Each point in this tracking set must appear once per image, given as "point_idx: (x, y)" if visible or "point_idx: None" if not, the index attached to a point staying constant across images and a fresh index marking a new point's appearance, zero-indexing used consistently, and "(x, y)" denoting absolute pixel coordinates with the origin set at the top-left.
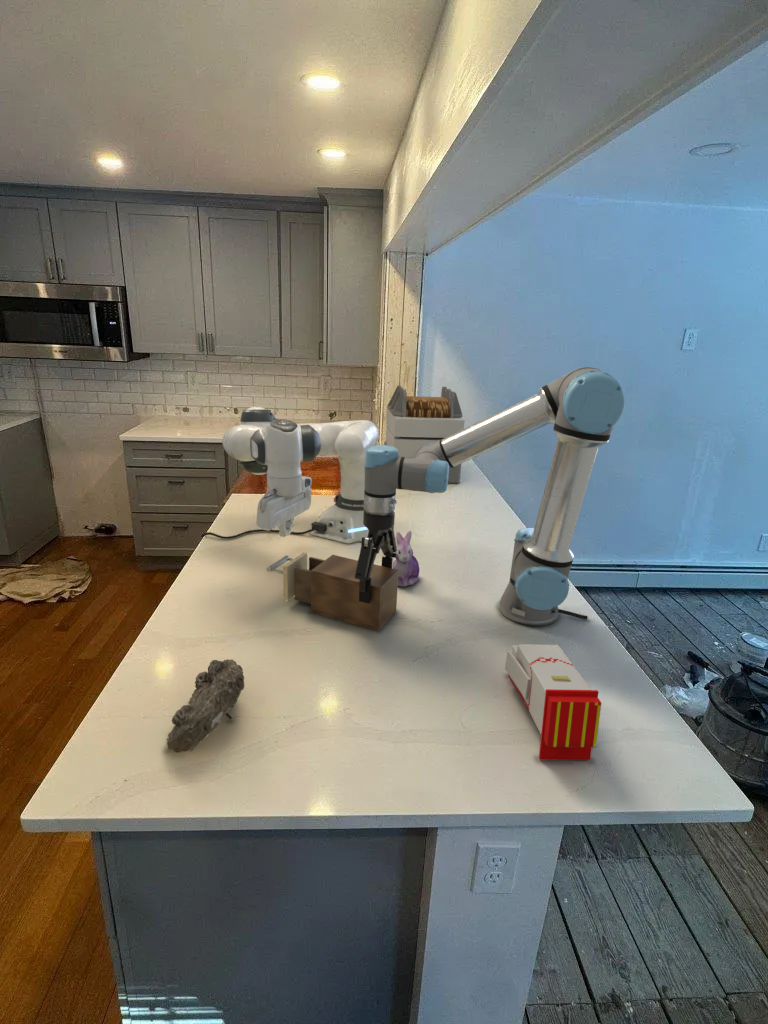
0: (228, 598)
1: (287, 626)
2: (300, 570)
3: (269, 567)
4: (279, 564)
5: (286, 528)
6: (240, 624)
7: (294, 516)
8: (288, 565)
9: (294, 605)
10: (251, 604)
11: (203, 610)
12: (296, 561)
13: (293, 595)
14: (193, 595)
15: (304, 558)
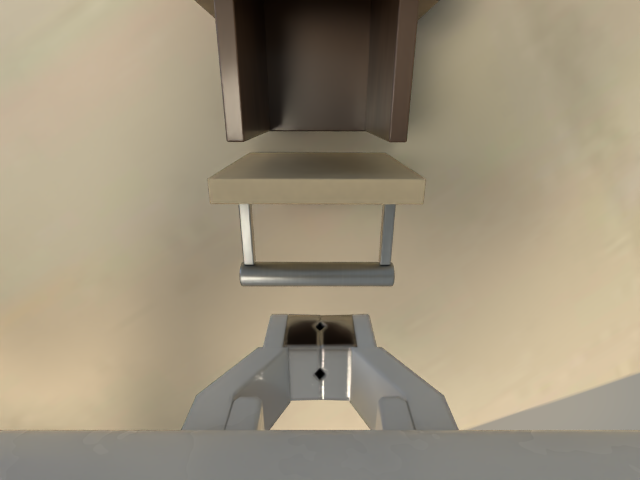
0: (421, 325)
1: (520, 64)
2: (409, 97)
3: (392, 278)
4: (325, 264)
5: (309, 368)
6: (549, 211)
7: (208, 435)
8: (407, 181)
9: None
10: (428, 253)
11: (505, 338)
12: (327, 177)
13: (347, 153)
14: None
15: (243, 174)
